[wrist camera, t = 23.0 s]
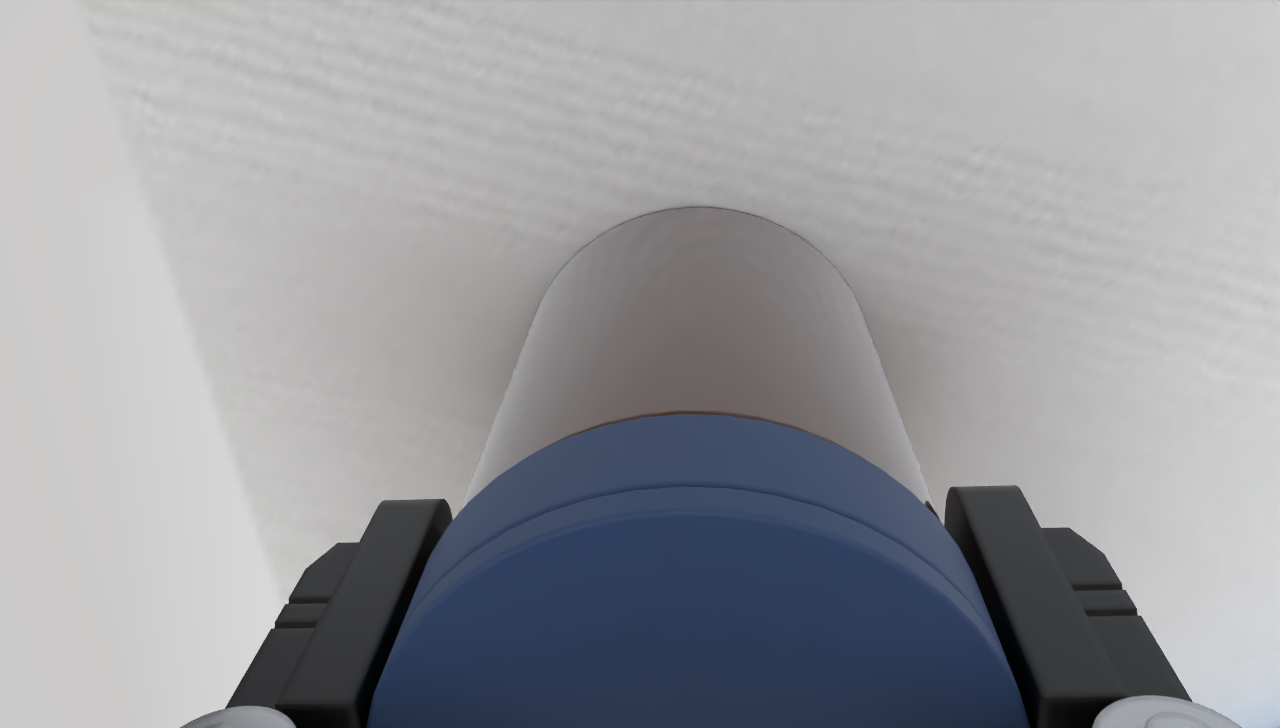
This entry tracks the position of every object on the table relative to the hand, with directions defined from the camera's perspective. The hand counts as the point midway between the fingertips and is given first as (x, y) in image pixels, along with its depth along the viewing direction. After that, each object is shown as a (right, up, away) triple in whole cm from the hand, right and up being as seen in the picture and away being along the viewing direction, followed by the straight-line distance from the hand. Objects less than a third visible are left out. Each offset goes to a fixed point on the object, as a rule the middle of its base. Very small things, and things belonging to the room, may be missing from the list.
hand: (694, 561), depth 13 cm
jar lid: (0, -1, -3) cm, 3 cm away
